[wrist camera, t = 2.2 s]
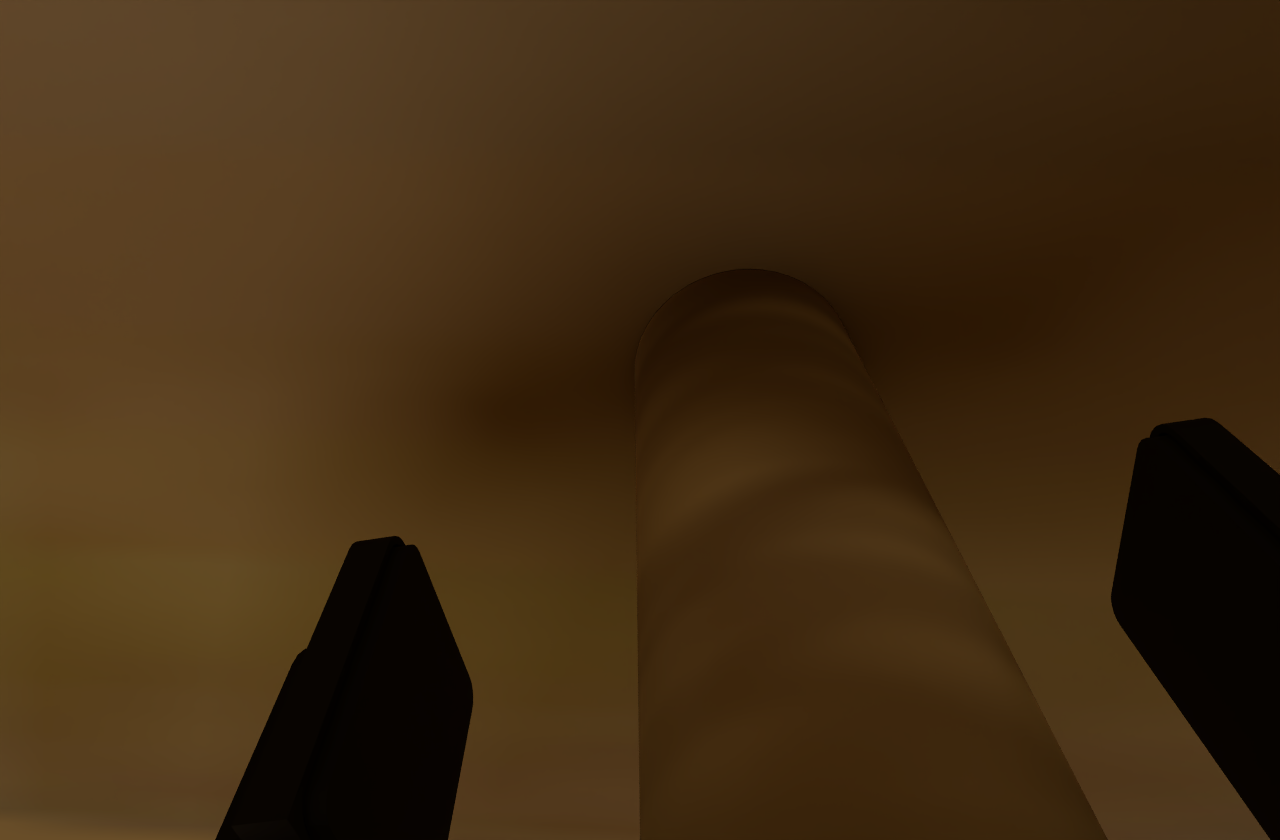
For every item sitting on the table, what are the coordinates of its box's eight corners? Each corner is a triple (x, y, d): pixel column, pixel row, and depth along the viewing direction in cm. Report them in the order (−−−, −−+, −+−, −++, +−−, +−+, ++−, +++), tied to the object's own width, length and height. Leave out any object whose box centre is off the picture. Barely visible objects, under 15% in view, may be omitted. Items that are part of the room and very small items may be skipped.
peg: (845, 252, 14) (1398, 1126, 4) (852, 443, 16) (1226, 1338, 6) (617, 289, 15) (588, 1186, 4) (652, 472, 17) (691, 1371, 6)
